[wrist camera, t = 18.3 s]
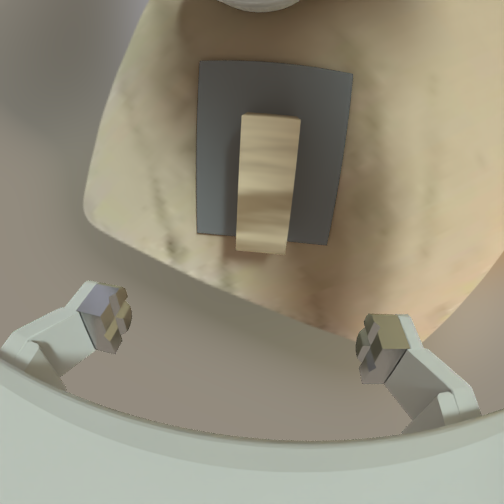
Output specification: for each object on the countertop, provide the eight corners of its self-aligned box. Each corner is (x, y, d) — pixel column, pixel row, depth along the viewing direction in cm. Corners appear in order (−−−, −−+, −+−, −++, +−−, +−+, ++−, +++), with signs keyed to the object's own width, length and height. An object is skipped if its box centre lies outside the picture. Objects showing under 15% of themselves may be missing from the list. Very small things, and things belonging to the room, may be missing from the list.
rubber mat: (201, 61, 22) (199, 61, 22) (351, 74, 21) (353, 74, 21) (198, 230, 31) (197, 232, 31) (326, 243, 31) (326, 245, 30)
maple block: (284, 254, 26) (300, 120, 20) (235, 250, 26) (241, 115, 20) (284, 232, 30) (297, 116, 24) (241, 228, 30) (247, 112, 24)
